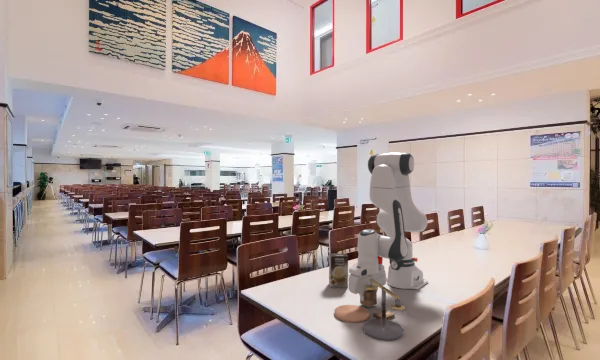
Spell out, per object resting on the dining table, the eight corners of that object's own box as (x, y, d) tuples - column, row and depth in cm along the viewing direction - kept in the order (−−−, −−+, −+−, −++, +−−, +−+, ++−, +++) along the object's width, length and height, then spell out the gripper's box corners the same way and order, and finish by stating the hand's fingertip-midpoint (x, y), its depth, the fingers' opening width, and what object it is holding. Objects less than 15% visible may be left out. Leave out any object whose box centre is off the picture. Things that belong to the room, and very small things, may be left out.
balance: (372, 307, 131) (372, 275, 131) (409, 323, 116) (409, 287, 116) (360, 311, 127) (360, 278, 127) (397, 328, 112) (397, 291, 112)
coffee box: (330, 287, 155) (330, 256, 155) (328, 283, 162) (328, 253, 162) (348, 287, 156) (348, 256, 156) (346, 283, 162) (345, 253, 162)
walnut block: (368, 300, 137) (367, 287, 136) (376, 304, 132) (376, 290, 132) (360, 303, 134) (360, 289, 134) (368, 307, 130) (368, 293, 130)
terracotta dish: (351, 304, 134) (351, 302, 134) (376, 316, 122) (376, 313, 122) (327, 312, 126) (327, 310, 126) (351, 326, 114) (351, 322, 114)
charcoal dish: (380, 318, 121) (380, 315, 121) (411, 332, 109) (411, 329, 109) (355, 328, 113) (355, 325, 113) (385, 344, 101) (385, 341, 101)
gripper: (378, 261, 141) (378, 291, 142) (346, 269, 130) (346, 302, 130) (389, 264, 136) (389, 295, 136) (356, 273, 125) (357, 307, 125)
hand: (368, 298), depth 133 cm, fingers closed on walnut block, 5 cm apart
